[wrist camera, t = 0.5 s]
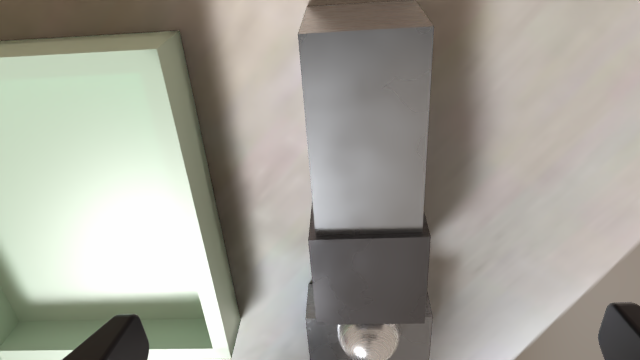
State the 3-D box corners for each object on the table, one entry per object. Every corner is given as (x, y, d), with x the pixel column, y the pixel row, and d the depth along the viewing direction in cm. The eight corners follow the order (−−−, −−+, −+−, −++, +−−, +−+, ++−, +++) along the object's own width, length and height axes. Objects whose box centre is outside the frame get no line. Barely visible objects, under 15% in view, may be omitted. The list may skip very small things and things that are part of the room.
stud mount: (421, 340, 27) (433, 407, 23) (314, 341, 27) (310, 408, 23) (425, 269, 24) (439, 333, 20) (307, 272, 24) (301, 335, 21)
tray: (240, 320, 26) (231, 359, 24) (17, 323, 27) (-12, 361, 25) (179, 30, 18) (156, 48, 16) (-134, 48, 19) (-197, 68, 17)
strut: (411, 253, 24) (424, 323, 20) (320, 255, 24) (316, 324, 20) (422, -1, 17) (444, 28, 14) (300, 6, 18) (288, 36, 14)
